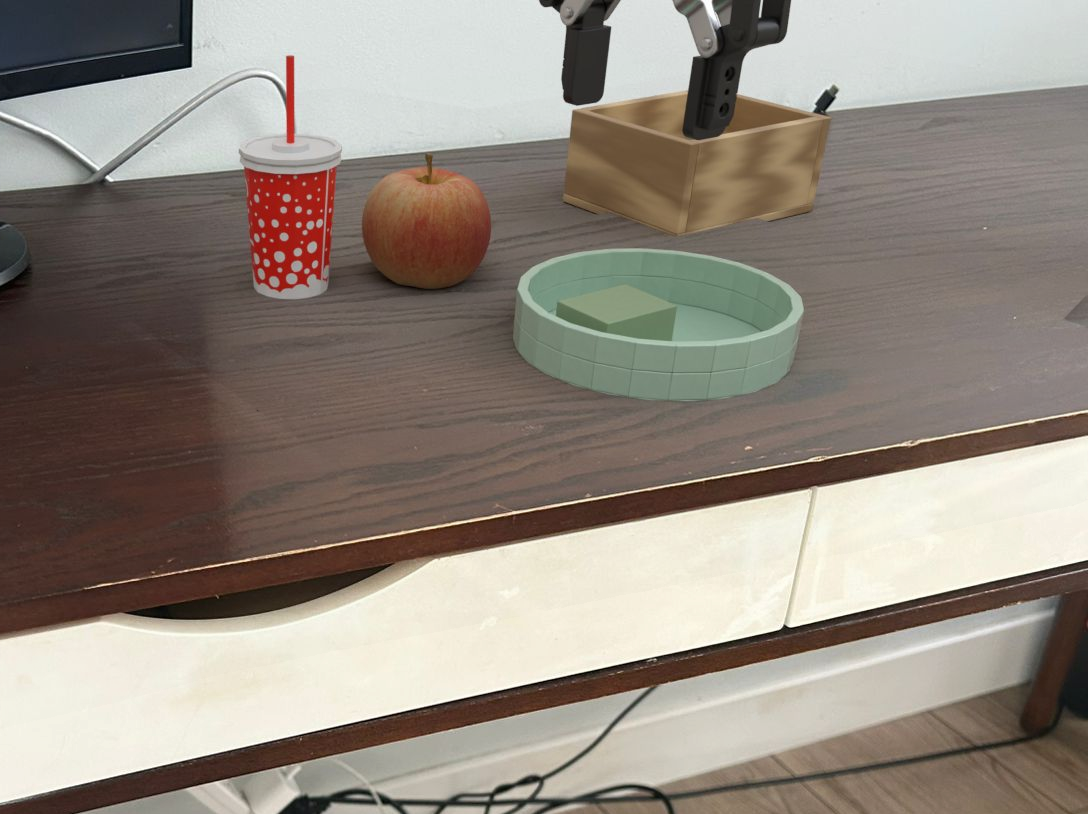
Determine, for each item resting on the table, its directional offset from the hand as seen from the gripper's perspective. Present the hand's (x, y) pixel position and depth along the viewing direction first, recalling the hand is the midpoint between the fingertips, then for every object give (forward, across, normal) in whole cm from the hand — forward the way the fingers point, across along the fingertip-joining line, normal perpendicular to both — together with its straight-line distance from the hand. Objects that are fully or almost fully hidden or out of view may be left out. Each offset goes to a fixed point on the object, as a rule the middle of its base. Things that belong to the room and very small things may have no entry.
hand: (639, 119), depth 68 cm
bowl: (+13, 0, -3) cm, 13 cm away
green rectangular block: (+13, 0, 0) cm, 13 cm away
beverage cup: (+13, +19, +9) cm, 25 cm away
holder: (+13, +19, -25) cm, 34 cm away
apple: (+13, +16, +1) cm, 21 cm away
